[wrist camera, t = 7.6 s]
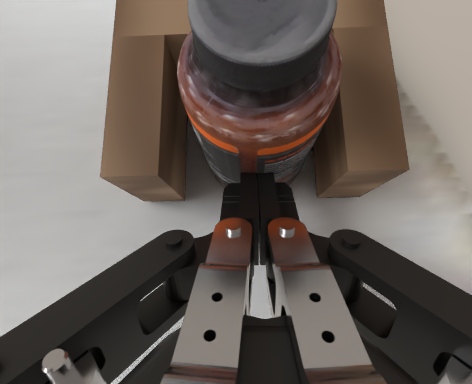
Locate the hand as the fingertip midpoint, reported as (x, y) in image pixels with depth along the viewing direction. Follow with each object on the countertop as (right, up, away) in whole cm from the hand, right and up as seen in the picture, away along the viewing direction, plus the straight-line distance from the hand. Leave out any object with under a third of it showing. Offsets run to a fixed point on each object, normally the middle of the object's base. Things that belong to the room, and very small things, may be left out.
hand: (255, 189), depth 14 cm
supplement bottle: (0, +2, +5) cm, 6 cm away
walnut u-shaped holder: (0, +4, +5) cm, 7 cm away
